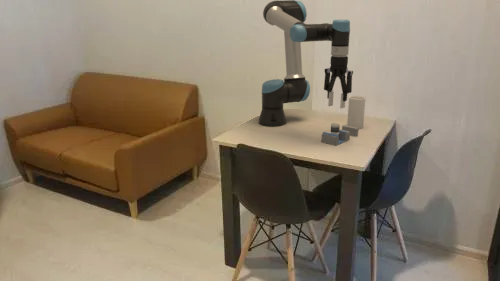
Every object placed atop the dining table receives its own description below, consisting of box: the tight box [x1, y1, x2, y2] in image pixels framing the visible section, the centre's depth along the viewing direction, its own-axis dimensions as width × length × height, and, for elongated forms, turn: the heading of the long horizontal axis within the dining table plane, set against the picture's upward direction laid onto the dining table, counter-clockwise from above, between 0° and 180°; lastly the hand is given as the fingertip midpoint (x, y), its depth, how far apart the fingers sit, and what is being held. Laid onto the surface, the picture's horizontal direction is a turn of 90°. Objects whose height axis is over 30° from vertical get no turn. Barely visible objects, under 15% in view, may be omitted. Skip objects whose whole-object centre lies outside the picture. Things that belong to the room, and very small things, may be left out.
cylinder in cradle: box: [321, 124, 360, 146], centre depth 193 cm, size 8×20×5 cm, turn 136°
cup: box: [346, 95, 366, 130], centre depth 210 cm, size 8×8×16 cm
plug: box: [330, 122, 341, 135], centre depth 189 cm, size 4×4×8 cm
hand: (336, 106), depth 185 cm, fingers open, 6 cm apart
